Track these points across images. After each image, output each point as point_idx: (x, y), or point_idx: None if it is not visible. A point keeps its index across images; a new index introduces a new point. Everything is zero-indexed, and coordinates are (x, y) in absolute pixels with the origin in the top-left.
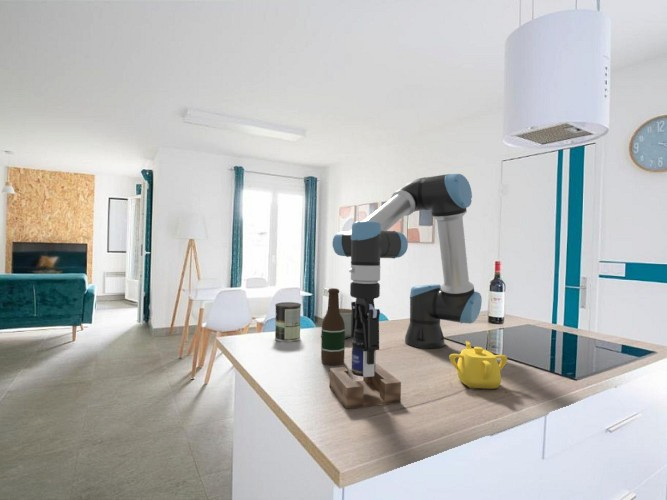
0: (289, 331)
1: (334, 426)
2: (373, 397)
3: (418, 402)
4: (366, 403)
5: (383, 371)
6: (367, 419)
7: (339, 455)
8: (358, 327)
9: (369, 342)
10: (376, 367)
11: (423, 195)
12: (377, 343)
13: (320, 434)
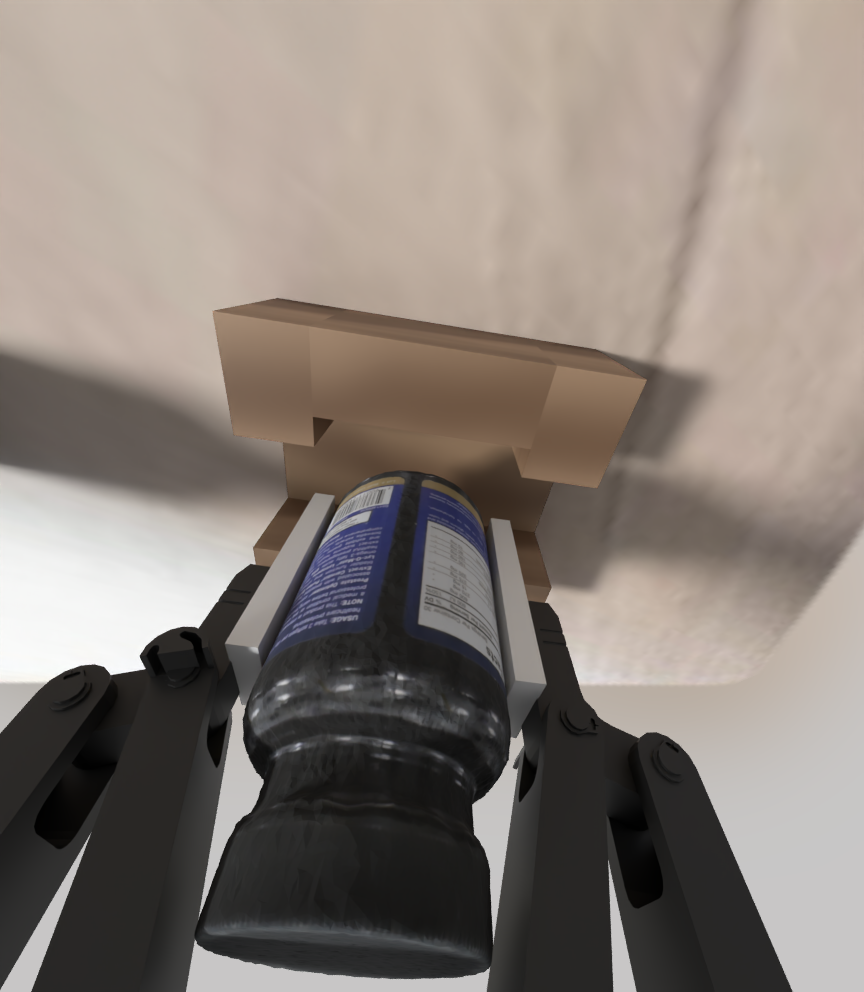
0: None
1: (587, 635)
2: (504, 468)
3: (665, 233)
4: (538, 520)
5: (399, 370)
6: (618, 553)
7: (706, 670)
8: (178, 971)
9: (657, 889)
10: (297, 370)
11: None
12: (713, 844)
13: (598, 668)
